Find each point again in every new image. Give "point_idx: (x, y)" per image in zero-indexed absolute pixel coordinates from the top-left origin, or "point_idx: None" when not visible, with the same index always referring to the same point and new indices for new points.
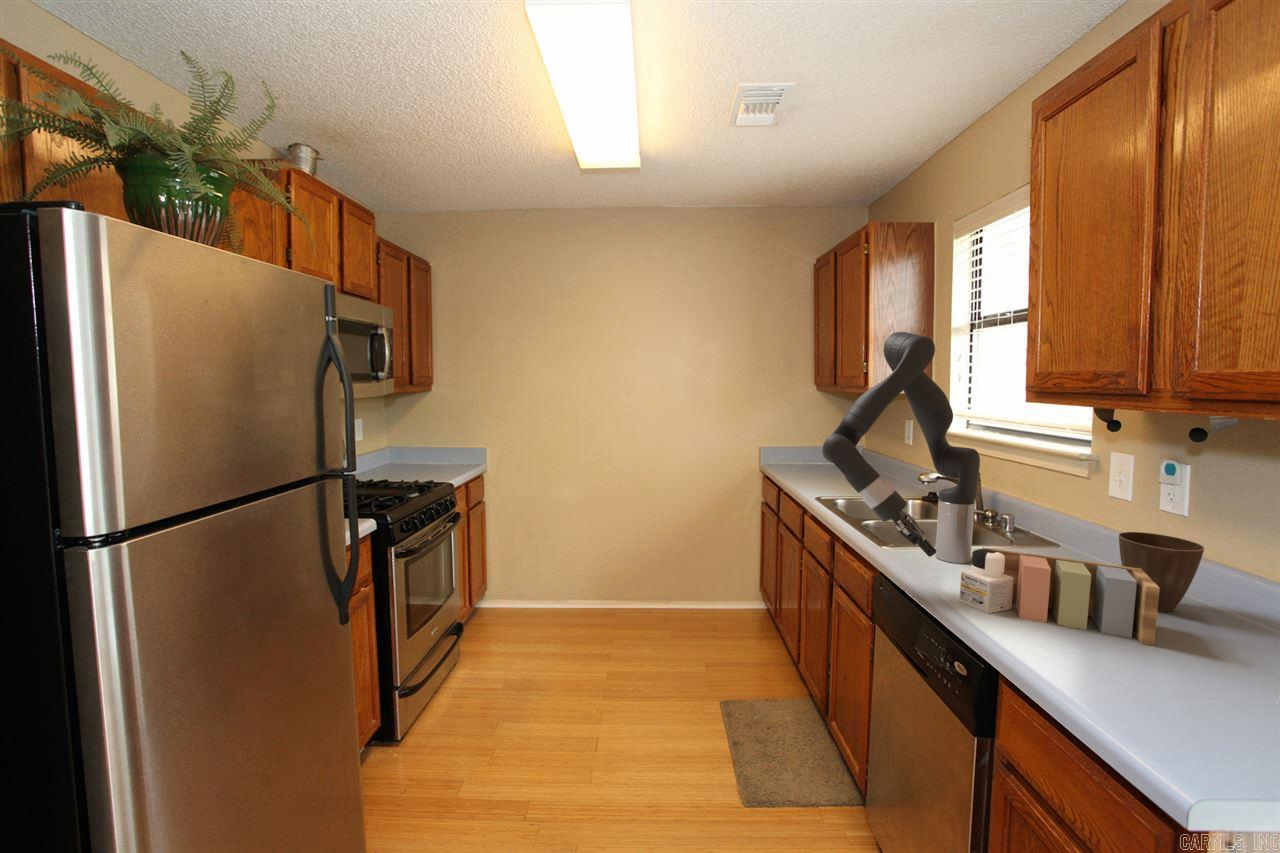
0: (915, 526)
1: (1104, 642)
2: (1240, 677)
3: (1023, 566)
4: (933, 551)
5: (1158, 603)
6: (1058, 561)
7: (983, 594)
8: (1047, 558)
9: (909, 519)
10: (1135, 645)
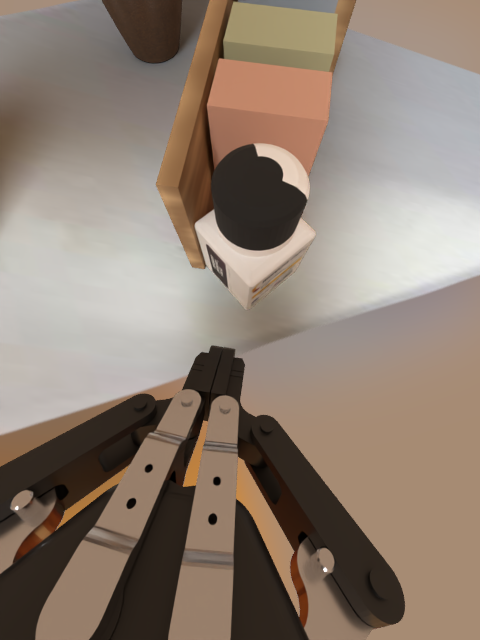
0: (235, 495)
1: (341, 144)
2: (378, 55)
3: (326, 124)
4: (241, 359)
5: (179, 29)
6: (240, 40)
7: (295, 262)
8: (214, 55)
9: (230, 613)
10: (332, 114)
